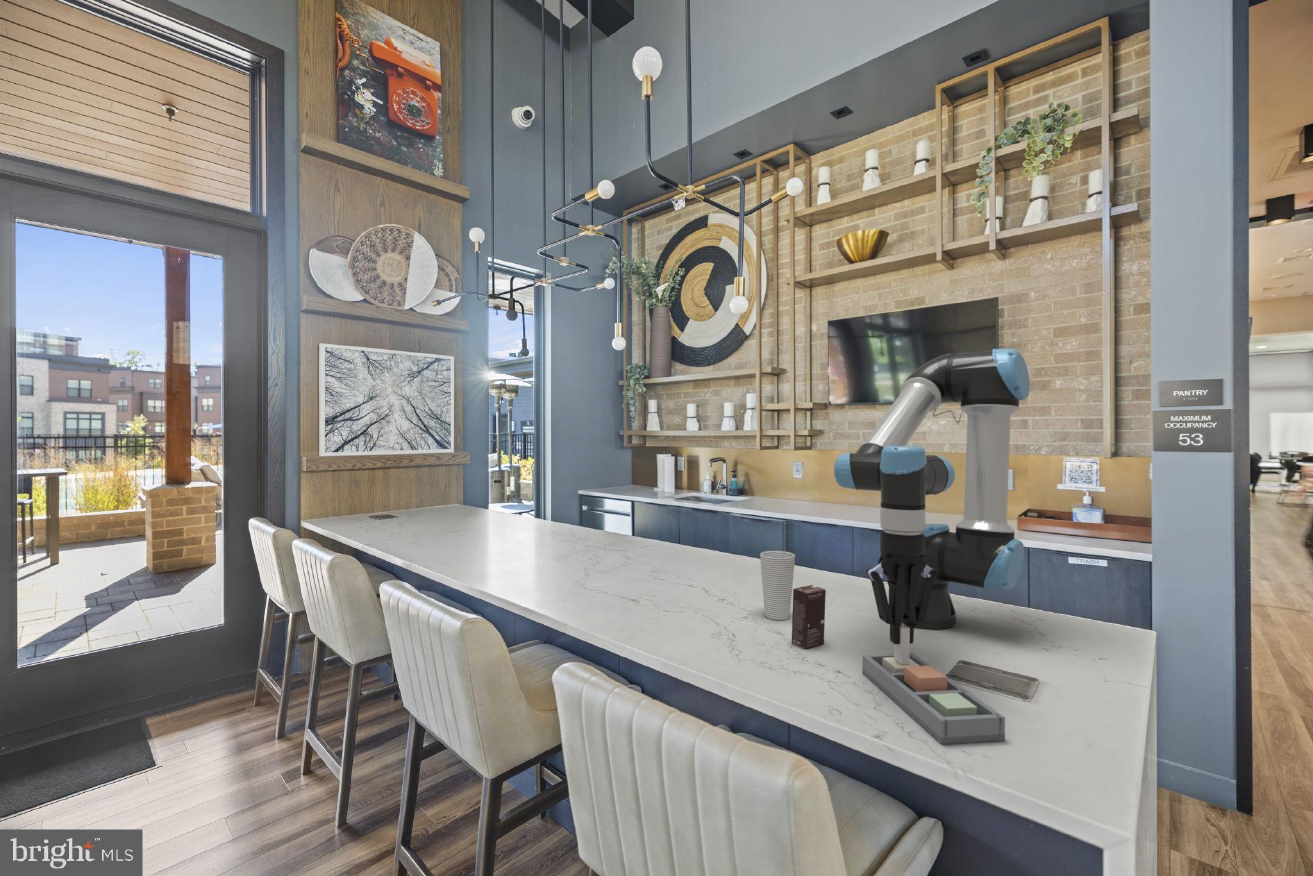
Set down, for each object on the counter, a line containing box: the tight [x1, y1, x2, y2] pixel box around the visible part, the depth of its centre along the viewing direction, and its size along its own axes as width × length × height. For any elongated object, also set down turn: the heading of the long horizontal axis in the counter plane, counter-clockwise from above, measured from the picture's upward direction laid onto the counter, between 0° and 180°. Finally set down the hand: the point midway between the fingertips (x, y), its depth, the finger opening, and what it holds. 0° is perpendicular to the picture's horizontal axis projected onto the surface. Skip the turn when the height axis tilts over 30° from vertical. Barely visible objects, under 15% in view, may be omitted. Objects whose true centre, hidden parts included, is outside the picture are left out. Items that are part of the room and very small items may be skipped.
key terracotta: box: [904, 664, 948, 692], centre depth 97 cm, size 5×5×2 cm
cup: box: [759, 550, 796, 621], centre depth 143 cm, size 8×8×16 cm
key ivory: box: [882, 657, 919, 673], centre depth 105 cm, size 5×5×2 cm
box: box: [791, 584, 827, 650], centre depth 124 cm, size 6×4×12 cm
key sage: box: [929, 693, 977, 717], centre depth 90 cm, size 5×5×2 cm
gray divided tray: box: [862, 652, 1006, 745], centre depth 97 cm, size 10×25×4 cm, turn 6°
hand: (901, 660), depth 105 cm, fingers closed
